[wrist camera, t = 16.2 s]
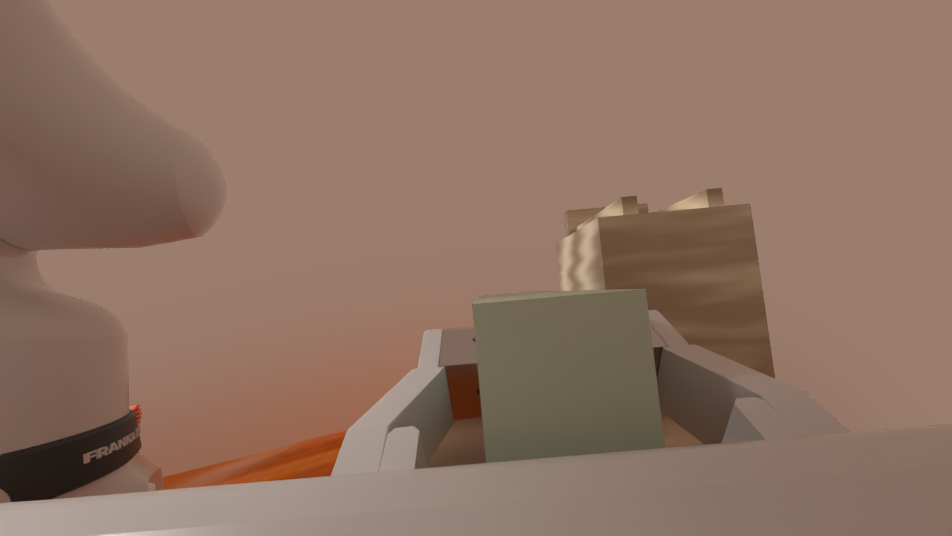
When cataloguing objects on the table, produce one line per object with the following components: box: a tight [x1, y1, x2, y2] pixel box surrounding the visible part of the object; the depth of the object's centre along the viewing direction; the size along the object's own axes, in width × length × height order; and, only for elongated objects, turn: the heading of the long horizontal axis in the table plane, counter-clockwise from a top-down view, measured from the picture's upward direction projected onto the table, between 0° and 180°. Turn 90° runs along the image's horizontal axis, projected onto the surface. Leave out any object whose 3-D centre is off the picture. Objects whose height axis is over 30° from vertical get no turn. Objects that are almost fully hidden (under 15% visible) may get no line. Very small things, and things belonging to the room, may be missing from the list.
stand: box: [556, 188, 775, 448], centre depth 29 cm, size 16×11×29 cm
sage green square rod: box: [472, 289, 665, 463], centre depth 16 cm, size 19×3×3 cm, turn 179°
